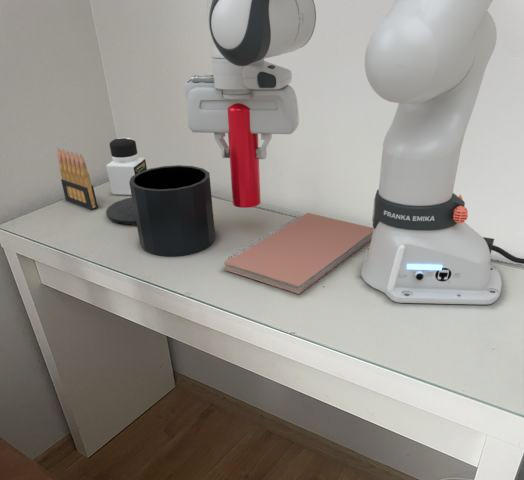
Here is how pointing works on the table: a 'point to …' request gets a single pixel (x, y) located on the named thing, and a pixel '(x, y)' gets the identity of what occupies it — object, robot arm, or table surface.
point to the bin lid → (122, 212)
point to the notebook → (299, 251)
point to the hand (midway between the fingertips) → (244, 157)
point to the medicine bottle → (124, 165)
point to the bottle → (243, 158)
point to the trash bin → (173, 210)
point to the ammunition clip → (76, 180)
